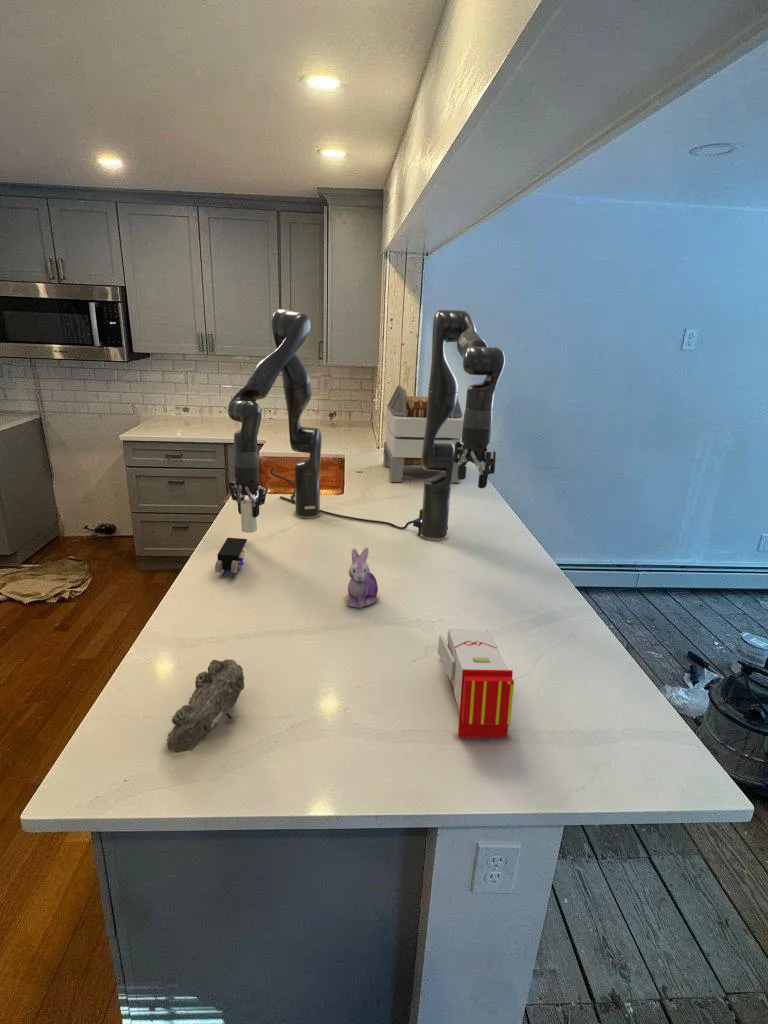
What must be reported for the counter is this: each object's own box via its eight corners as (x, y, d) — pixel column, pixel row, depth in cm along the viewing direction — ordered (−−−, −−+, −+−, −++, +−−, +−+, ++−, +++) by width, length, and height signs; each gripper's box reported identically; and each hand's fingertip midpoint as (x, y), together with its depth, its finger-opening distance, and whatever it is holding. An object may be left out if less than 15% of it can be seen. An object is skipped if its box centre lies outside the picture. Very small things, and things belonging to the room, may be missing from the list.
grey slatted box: (382, 463, 289) (386, 382, 275) (445, 464, 293) (451, 384, 279) (390, 482, 257) (394, 392, 243) (460, 483, 261) (468, 394, 247)
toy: (488, 613, 130) (523, 677, 101) (484, 667, 133) (517, 744, 104) (435, 612, 130) (455, 676, 101) (432, 666, 133) (451, 743, 103)
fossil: (192, 660, 117) (244, 628, 112) (224, 691, 120) (276, 661, 115) (142, 746, 98) (202, 712, 93) (182, 779, 101) (242, 748, 96)
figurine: (354, 612, 147) (355, 559, 142) (338, 595, 155) (339, 544, 150) (386, 605, 151) (388, 553, 146) (369, 588, 160) (371, 539, 155)
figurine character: (238, 584, 162) (249, 557, 175) (236, 562, 158) (247, 536, 172) (215, 584, 161) (227, 556, 175) (212, 561, 158) (225, 535, 171)
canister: (248, 526, 187) (247, 498, 184) (260, 529, 185) (259, 500, 182) (238, 530, 183) (237, 502, 180) (250, 533, 181) (249, 504, 178)
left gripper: (272, 464, 177) (273, 516, 183) (236, 458, 183) (239, 507, 188) (257, 470, 170) (259, 523, 176) (220, 463, 176) (223, 514, 182)
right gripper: (449, 421, 154) (444, 478, 160) (484, 431, 143) (478, 492, 148) (470, 419, 158) (465, 475, 163) (506, 429, 147) (499, 488, 152)
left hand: (248, 514), depth 182 cm, fingers closed on canister, 5 cm apart
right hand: (471, 483), depth 156 cm, fingers open, 8 cm apart
